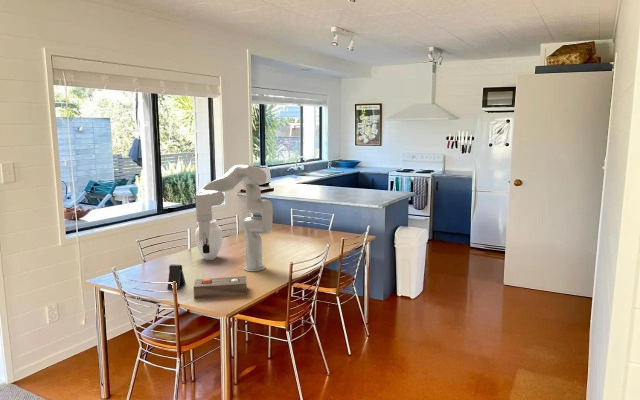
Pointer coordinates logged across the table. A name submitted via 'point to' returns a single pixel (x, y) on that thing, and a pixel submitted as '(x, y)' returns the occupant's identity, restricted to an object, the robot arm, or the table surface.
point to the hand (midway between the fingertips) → (206, 252)
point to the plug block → (220, 287)
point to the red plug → (207, 281)
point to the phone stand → (176, 276)
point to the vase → (211, 241)
